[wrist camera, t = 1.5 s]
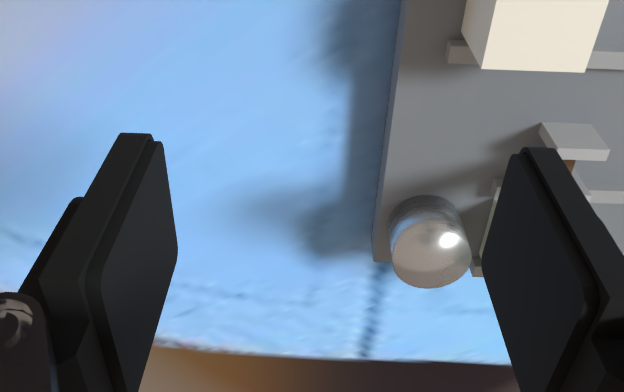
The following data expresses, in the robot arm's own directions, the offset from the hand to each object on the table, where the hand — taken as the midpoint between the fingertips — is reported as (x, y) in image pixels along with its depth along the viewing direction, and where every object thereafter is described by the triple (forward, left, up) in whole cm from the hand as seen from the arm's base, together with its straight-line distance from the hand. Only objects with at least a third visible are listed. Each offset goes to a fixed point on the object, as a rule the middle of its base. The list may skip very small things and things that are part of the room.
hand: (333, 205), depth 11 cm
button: (+13, +6, -16) cm, 21 cm away
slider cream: (0, +8, -16) cm, 18 cm away
